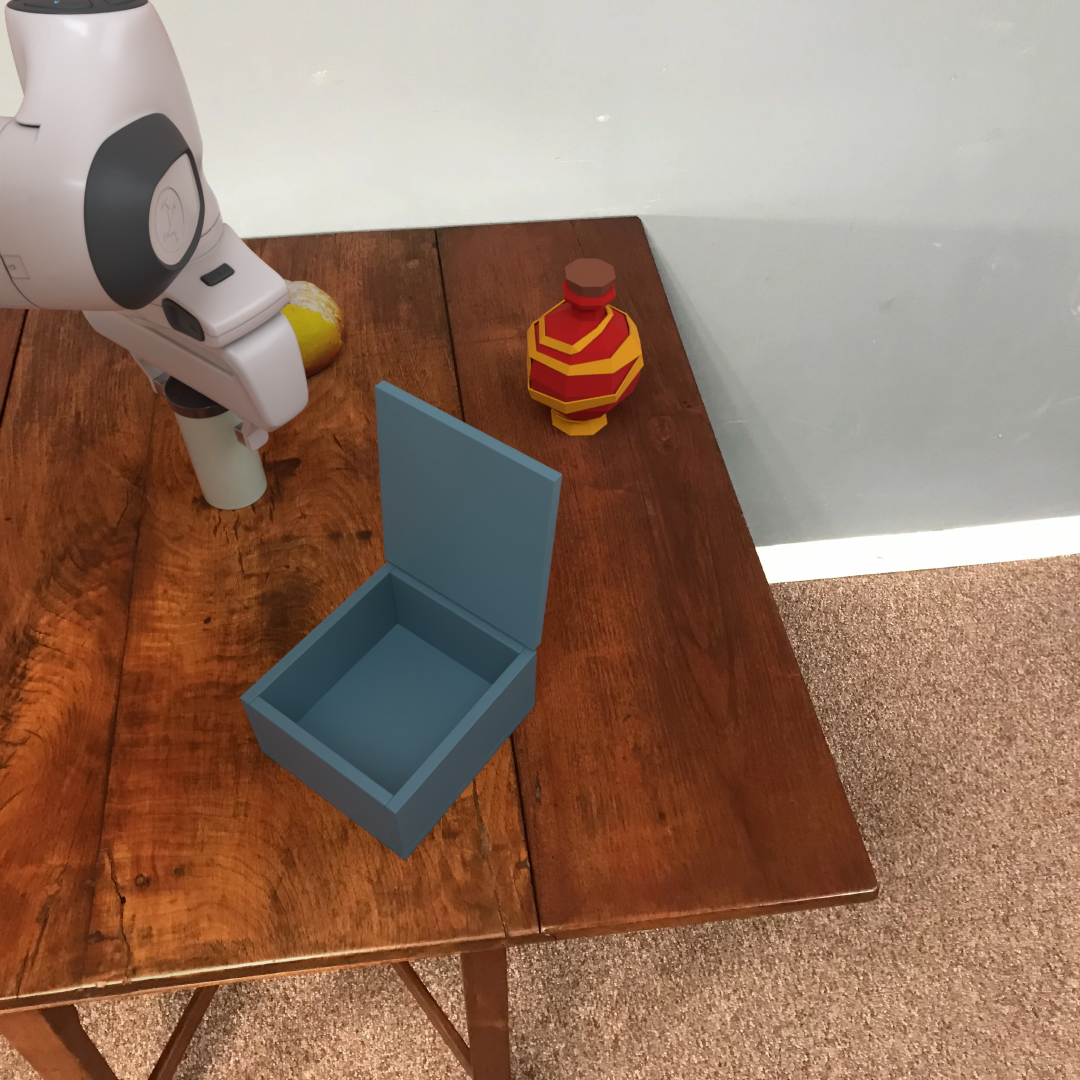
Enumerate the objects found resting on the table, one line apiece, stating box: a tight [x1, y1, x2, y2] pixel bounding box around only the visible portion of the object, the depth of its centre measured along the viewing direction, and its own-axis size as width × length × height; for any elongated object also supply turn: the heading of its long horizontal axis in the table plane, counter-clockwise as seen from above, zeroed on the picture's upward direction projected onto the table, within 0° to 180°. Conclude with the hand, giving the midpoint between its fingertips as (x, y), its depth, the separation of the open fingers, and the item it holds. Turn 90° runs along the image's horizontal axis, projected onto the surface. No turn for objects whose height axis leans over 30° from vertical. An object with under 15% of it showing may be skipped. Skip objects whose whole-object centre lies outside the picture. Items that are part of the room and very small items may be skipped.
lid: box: [374, 380, 563, 651], centre depth 57 cm, size 14×13×1 cm
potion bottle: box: [526, 257, 645, 437], centre depth 79 cm, size 10×10×15 cm
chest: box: [239, 560, 538, 861], centre depth 61 cm, size 14×13×7 cm
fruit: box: [280, 278, 345, 378], centre depth 87 cm, size 11×10×8 cm
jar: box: [164, 376, 268, 511], centre depth 74 cm, size 6×6×11 cm
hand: (211, 417), depth 72 cm, fingers open, 8 cm apart
